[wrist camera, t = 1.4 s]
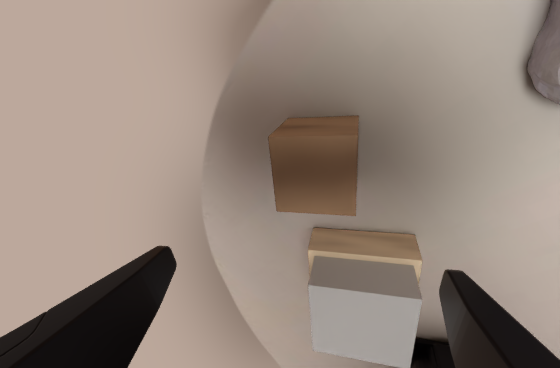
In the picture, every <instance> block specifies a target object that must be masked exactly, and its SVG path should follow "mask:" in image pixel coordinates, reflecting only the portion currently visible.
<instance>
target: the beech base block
mask: <svg viewBox="0 0 560 368" xmlns="http://www.w3.org/2000/svg"><path fill="white" fill-rule="evenodd" d="M314 256H323V257H333V258H343V259H354V260H364V261H374V262H384V263H394V264H404V265H414V269H415V273H416V277H417V281H418V285H419V278H420V272H421V266H422V258H421V254H420V251H419V247H418V244H417V241H416V237H415V235H411V234H397V233H383V232H369V231H354V230H340V229H326V228H313V232H312V236H311V240H310V244H309V247H308V260H309V275H310V274H311V270H312V265H313V261H314Z"/></svg>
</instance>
